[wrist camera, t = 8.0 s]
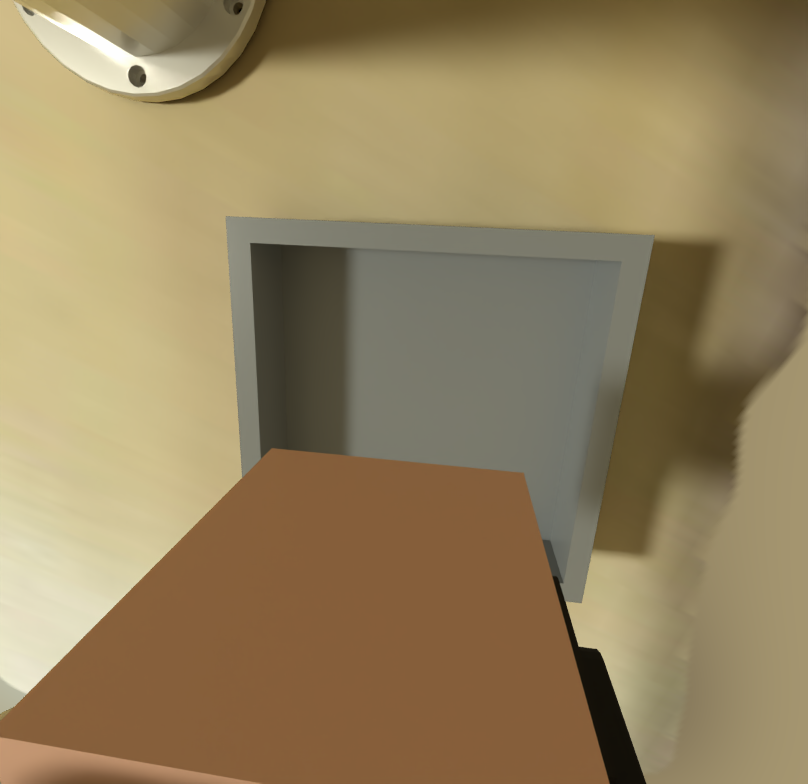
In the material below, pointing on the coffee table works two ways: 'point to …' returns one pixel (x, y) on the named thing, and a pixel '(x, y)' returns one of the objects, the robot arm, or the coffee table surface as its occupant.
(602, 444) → the grey square tray
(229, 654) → the small crate
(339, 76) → the coffee table surface
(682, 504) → the coffee table surface
